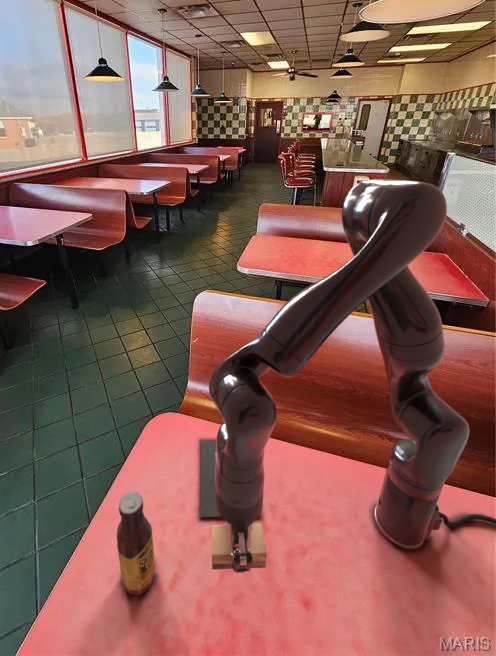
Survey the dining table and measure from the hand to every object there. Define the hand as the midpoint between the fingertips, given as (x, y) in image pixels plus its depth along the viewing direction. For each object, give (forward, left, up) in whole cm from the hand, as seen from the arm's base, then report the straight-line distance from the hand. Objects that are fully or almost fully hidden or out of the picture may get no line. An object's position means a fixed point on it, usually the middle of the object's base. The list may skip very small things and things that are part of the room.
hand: (237, 550), depth 57 cm
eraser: (0, 0, -1) cm, 1 cm away
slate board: (0, -22, -11) cm, 25 cm away
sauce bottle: (+18, -2, -11) cm, 22 cm away
